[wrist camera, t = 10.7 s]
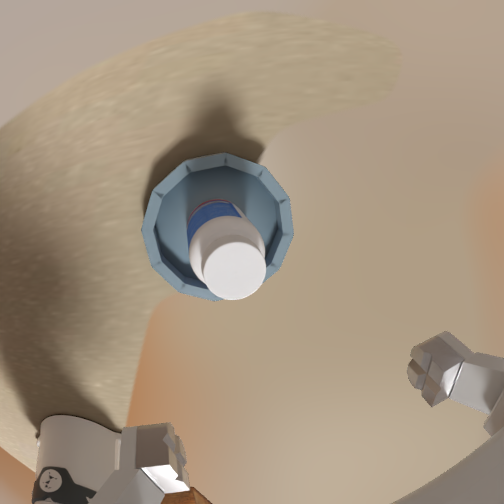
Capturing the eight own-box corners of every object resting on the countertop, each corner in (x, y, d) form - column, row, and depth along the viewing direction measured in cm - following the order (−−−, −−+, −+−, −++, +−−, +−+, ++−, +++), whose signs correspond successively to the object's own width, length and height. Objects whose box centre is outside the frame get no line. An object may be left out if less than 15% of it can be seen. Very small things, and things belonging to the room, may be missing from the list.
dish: (291, 271, 32) (298, 280, 30) (166, 300, 30) (166, 312, 28) (274, 143, 27) (282, 143, 25) (131, 172, 25) (127, 175, 23)
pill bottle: (175, 237, 27) (173, 285, 19) (207, 186, 27) (220, 211, 18) (225, 265, 29) (245, 321, 21) (257, 218, 29) (293, 256, 20)
